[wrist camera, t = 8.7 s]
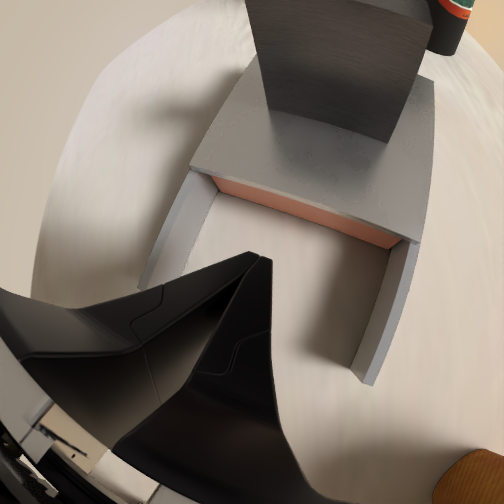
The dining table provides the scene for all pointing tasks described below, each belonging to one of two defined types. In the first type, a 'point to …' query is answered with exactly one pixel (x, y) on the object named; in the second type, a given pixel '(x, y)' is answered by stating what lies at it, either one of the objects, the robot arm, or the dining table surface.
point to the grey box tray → (206, 187)
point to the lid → (333, 111)
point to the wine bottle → (447, 24)
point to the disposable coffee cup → (473, 480)
